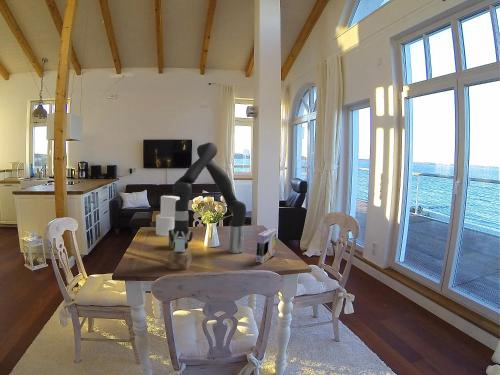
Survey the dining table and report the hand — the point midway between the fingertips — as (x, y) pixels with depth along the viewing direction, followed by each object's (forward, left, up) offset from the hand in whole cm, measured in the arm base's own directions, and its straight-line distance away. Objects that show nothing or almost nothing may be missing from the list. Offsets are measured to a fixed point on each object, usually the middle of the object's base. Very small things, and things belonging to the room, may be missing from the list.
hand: (180, 248), depth 179 cm
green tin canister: (+12, -34, -10) cm, 37 cm away
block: (0, 0, -1) cm, 1 cm away
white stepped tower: (+30, -68, -10) cm, 75 cm away
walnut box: (0, 0, -10) cm, 10 cm away
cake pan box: (-47, -21, -10) cm, 52 cm away
